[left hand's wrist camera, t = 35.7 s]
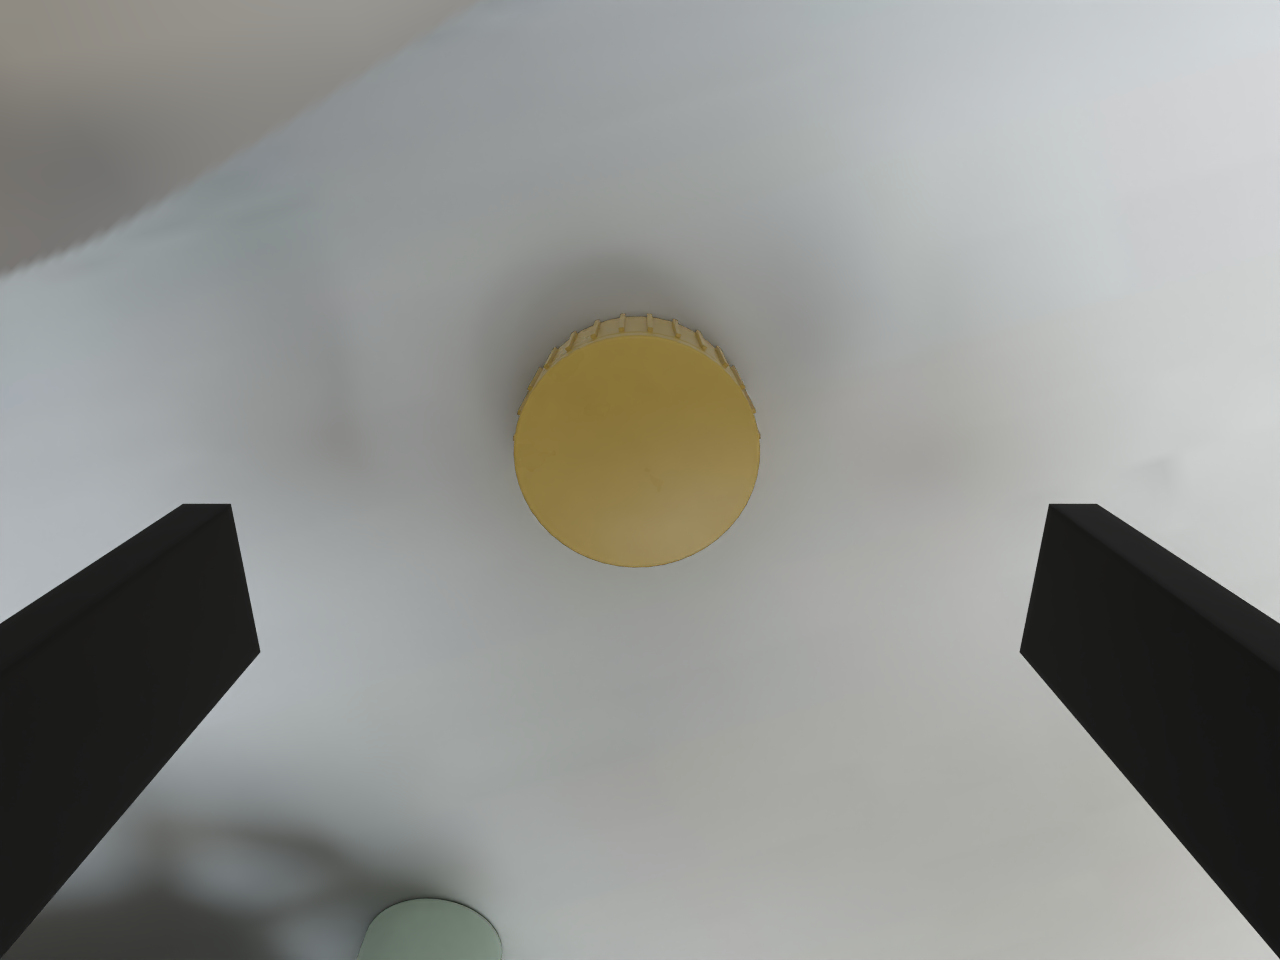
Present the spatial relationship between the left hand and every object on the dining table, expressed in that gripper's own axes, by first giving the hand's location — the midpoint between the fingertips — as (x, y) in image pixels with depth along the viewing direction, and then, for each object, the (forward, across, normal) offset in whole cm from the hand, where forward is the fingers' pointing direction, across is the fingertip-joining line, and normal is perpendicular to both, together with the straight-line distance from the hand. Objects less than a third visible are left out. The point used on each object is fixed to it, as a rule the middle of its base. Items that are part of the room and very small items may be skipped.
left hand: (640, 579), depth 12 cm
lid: (+4, 0, -1) cm, 4 cm away
